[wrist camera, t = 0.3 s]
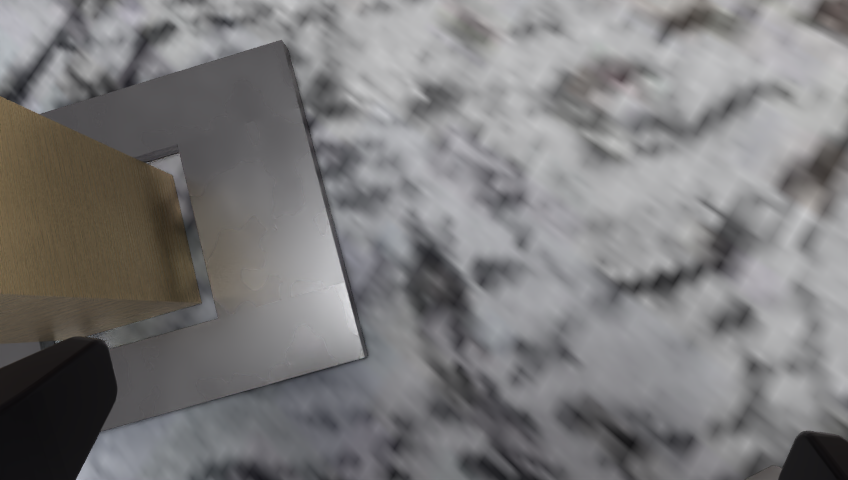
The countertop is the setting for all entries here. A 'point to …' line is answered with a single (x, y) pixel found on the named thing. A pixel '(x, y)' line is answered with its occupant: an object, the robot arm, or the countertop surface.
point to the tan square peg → (83, 234)
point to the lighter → (767, 474)
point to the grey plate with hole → (231, 233)
